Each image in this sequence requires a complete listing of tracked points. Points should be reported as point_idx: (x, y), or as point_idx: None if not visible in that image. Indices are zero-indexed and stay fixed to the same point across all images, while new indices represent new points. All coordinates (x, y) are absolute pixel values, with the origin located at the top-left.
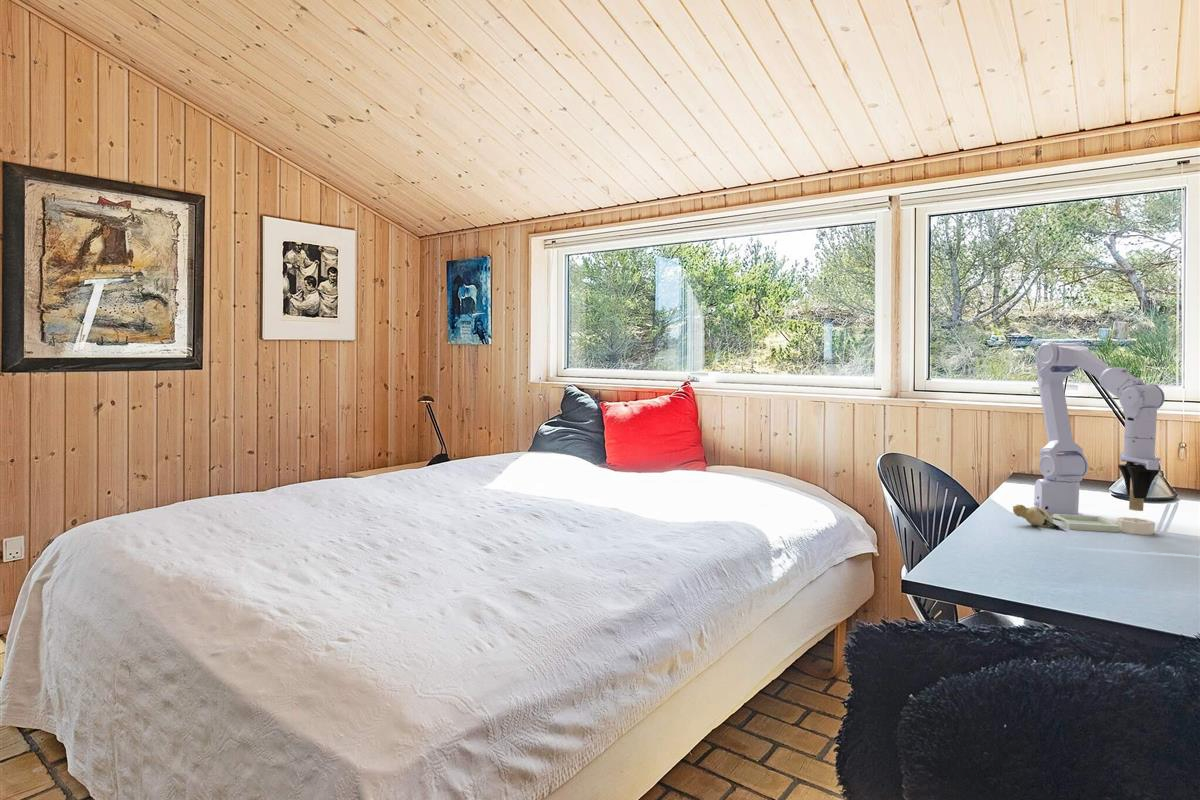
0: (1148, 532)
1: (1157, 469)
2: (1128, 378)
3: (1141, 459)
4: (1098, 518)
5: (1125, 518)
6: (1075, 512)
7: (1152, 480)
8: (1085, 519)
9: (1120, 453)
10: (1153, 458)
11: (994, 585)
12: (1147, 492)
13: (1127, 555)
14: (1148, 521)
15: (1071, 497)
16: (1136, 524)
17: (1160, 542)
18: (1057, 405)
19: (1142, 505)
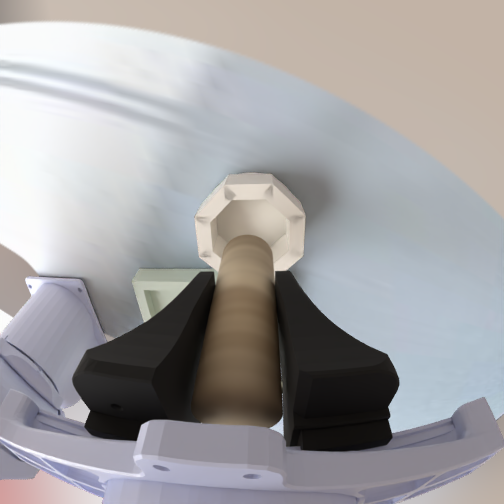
0: (300, 204)
1: (483, 403)
2: None
3: (404, 500)
4: (154, 288)
5: (219, 255)
6: (73, 299)
7: (340, 329)
8: (152, 308)
9: (28, 461)
10: (334, 494)
11: (500, 408)
12: (300, 287)
13: (469, 312)
14: (258, 199)
15: (64, 339)
16: (302, 250)
17: (368, 196)
18: None
19: (266, 254)
